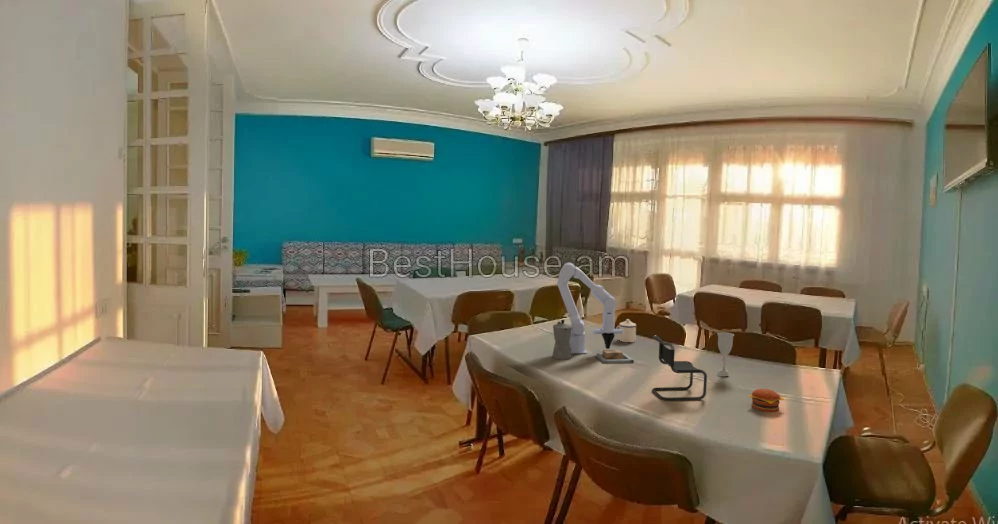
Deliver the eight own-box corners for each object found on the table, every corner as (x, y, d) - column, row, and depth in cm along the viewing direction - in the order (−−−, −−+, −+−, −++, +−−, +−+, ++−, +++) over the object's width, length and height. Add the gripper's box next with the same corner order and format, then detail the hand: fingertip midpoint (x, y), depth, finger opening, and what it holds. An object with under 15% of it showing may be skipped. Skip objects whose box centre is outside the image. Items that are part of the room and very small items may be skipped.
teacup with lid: (639, 341, 305) (640, 319, 304) (628, 343, 300) (629, 321, 298) (621, 337, 315) (622, 316, 313) (610, 339, 309) (611, 318, 308)
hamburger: (759, 401, 213) (760, 384, 212) (784, 409, 205) (786, 391, 205) (745, 406, 207) (746, 388, 207) (770, 414, 200) (772, 396, 199)
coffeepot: (575, 360, 265) (576, 322, 264) (555, 361, 264) (556, 322, 262) (566, 352, 281) (567, 316, 279) (548, 352, 279) (548, 316, 278)
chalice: (733, 378, 241) (735, 336, 239) (716, 377, 243) (718, 335, 241) (730, 373, 248) (732, 332, 247) (713, 372, 250) (715, 331, 248)
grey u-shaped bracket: (604, 363, 262) (604, 360, 262) (596, 356, 274) (596, 353, 274) (633, 362, 263) (633, 360, 263) (624, 355, 276) (624, 353, 276)
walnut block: (605, 361, 266) (606, 352, 265) (602, 358, 271) (602, 350, 270) (622, 360, 267) (622, 352, 266) (618, 358, 272) (619, 349, 271)
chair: (648, 389, 225) (651, 334, 222) (691, 389, 226) (694, 334, 224) (661, 401, 212) (664, 343, 210) (706, 400, 213) (709, 342, 211)
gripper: (620, 319, 283) (619, 346, 284) (591, 319, 281) (590, 346, 282) (625, 322, 276) (623, 349, 277) (595, 322, 274) (594, 350, 275)
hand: (607, 348), depth 279 cm, fingers closed
